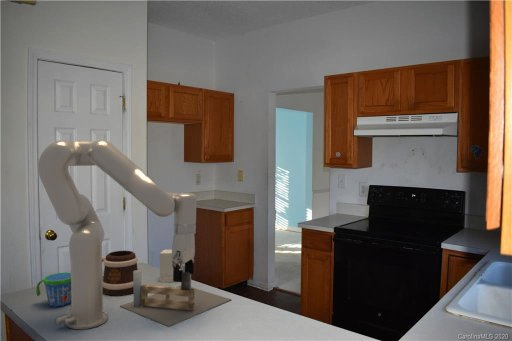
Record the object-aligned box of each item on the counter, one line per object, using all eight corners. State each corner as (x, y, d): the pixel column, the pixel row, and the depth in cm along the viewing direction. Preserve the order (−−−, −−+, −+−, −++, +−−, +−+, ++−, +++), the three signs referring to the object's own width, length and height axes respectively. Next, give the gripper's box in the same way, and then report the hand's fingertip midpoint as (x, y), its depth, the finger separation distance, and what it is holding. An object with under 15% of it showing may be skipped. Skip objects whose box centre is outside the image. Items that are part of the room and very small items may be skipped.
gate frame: (136, 308, 143) (136, 272, 142) (132, 307, 145) (131, 271, 144) (191, 289, 163) (191, 258, 163) (186, 288, 165) (186, 257, 165)
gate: (140, 306, 143) (140, 271, 142) (144, 303, 146) (144, 268, 145) (192, 311, 139) (191, 275, 138) (195, 307, 141) (195, 272, 141)
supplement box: (176, 282, 173) (176, 253, 172) (159, 282, 173) (159, 253, 173) (180, 277, 180) (180, 249, 180) (163, 276, 180) (163, 249, 180)
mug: (148, 286, 167) (147, 250, 167) (123, 298, 153) (123, 259, 153) (109, 281, 174) (109, 246, 174) (83, 292, 160) (82, 254, 160)
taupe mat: (168, 326, 128) (168, 325, 128) (119, 306, 145) (119, 305, 145) (231, 300, 152) (231, 299, 152) (183, 285, 168) (183, 284, 168)
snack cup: (30, 309, 142) (30, 280, 142) (45, 298, 153) (45, 272, 152) (75, 309, 143) (74, 280, 142) (86, 298, 153) (86, 272, 153)
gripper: (184, 224, 149) (183, 269, 149) (163, 232, 132) (162, 283, 132) (203, 225, 147) (202, 271, 147) (184, 233, 130) (183, 286, 131)
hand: (183, 277), depth 140 cm, fingers open, 9 cm apart
